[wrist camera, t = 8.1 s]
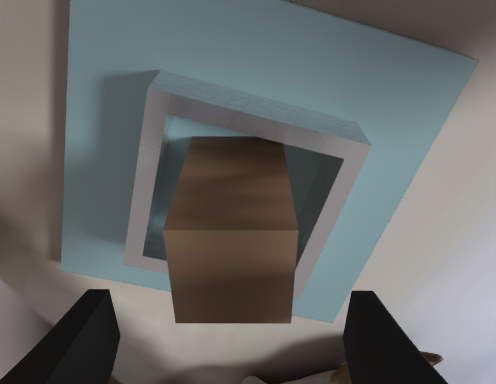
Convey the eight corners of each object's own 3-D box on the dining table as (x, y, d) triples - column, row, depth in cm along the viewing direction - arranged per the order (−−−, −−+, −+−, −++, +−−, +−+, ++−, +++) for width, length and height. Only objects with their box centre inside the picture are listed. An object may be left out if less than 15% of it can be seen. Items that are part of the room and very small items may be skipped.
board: (467, 55, 17) (478, 60, 16) (329, 310, 25) (332, 323, 24) (82, -62, 15) (72, -63, 14) (67, 258, 23) (60, 270, 22)
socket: (356, 122, 17) (372, 145, 15) (293, 266, 22) (298, 300, 19) (161, 69, 16) (148, 87, 14) (136, 232, 20) (122, 265, 18)
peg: (281, 136, 18) (298, 230, 12) (278, 211, 20) (290, 323, 14) (192, 136, 18) (162, 229, 12) (198, 210, 20) (175, 323, 14)
